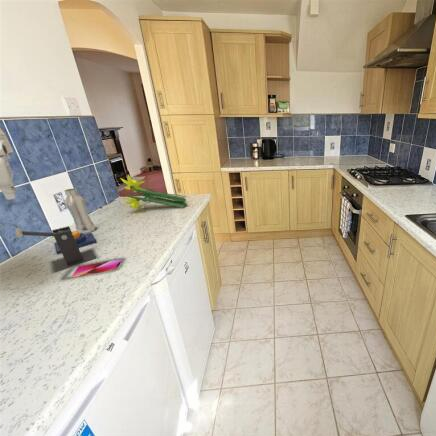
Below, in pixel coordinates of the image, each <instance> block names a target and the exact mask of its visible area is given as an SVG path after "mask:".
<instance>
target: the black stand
mask: <svg viewBox="0 0 436 436" xmlns="http://www.w3.org/2000/svg"><path fill="white" fill-rule="evenodd" d="M58 230H61V231H62V232H58ZM72 232H73V231H72V230H71V227H70V226H69V225H67V226H63V227H59V228H55V229H52V232H51V233H54V234H53V236H52V237H53V238H54V240H55V242H57V244H58V246H59V248H60V250H61V252H62V253H61V254H62V256H63V257H62V258H59V259H56V260H53V261H52V264H53V268H54V272H55V273H58V272H61V271H63V270H66V269H69V268H72V267H75V266H79V265H81V264H85V263H87V262H90V261H93V260H96V259H97V257H96V255H95V253H94V251H93V249H91V248H90V249H88V250H84V251H81V250H80V248H78V246H77V243H76V241H75V239H74V236H73V234H72Z"/></svg>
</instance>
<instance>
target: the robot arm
mask: <svg viewBox="0 0 436 436" xmlns="http://www.w3.org/2000/svg"><path fill="white" fill-rule="evenodd" d="M10 153H14V149H13V147H12V145H11V143H10V141H9V139H8V137H7V135H6V133H5V132H4V130H3V129H2V128H1V127H0V192H1V193H2V194H3V196H4V197H5V199H6V200H8V201H9V200H15V199H16V194H15V193H17V188H16V187H15V184H14V180H13V178H14V171H13V169H12V166H11V165H10V163H9V161H8V160H10V159H11V156H10V155H9V154H10Z"/></svg>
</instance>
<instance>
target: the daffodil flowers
mask: <svg viewBox="0 0 436 436" xmlns="http://www.w3.org/2000/svg"><path fill="white" fill-rule="evenodd" d="M126 178H127V180H126V179H124V178H122V177H120V178H119V179H120V180H121V181H122V182H123V183H124V184H125V185H126V186H125V188H124V189H125V190H132V191H133V193H131V194H124V196H125V197H123V199H125V200H128V201H126V202H124V205H129V207H130V209H131V208H132V209H139V206H140V207H141V208H143V205H146V204H148V203H154V204H159V205H164V206H170V207H175V208H181V209H185V206H186V201H187V199H186V198H187V196H186V195H181V194H173V193H168V192H167V193H166V192H160V191H156V190H153V189H151V188H149V187H147V186H146V185H145V184H143V183H145V182H146V180H141V181H137V180H136V179H132V177H131V176H130V175H129V174H127V177H126ZM141 185H142V187H140V186H141ZM134 194H138V195H141V196H142V197H140V196H134ZM141 204H142V205H141Z"/></svg>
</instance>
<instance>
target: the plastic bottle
mask: <svg viewBox="0 0 436 436" xmlns="http://www.w3.org/2000/svg"><path fill="white" fill-rule="evenodd" d="M64 194H65V196H66V197H65V199H64V200H65V201H64V205H65V206H66V208H67V210H68V211H69V214H70V215H71V217H72V219H73V222H74V227H75V231H79V233H84V234H88V233H92V232H94V231H95V230H96V226H95V223H94V222H93V221H92V219H91V216H90V215H89V212H88V209H87V206H86V201H85V199H84V198H83V197H82V196H81V195H79V194H78V191H77V189H76V188H68V189H64Z"/></svg>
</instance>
